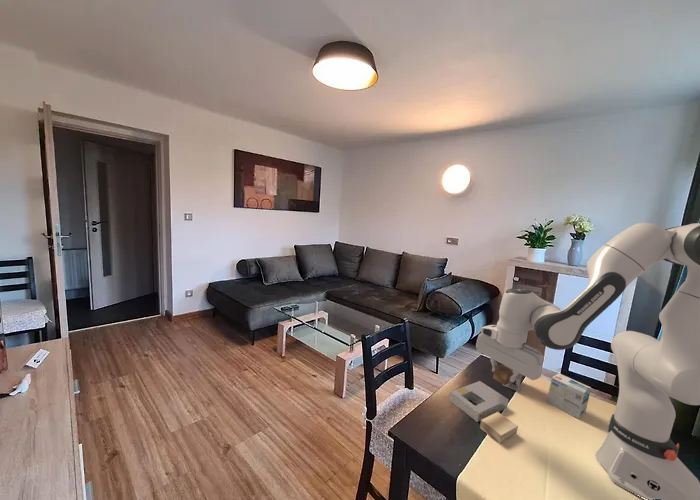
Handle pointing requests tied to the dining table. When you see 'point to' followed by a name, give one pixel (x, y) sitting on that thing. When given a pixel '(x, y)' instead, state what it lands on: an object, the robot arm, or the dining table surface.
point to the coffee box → (515, 382)
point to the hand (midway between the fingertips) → (502, 376)
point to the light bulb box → (569, 395)
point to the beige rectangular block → (498, 427)
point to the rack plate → (478, 400)
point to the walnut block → (502, 374)
